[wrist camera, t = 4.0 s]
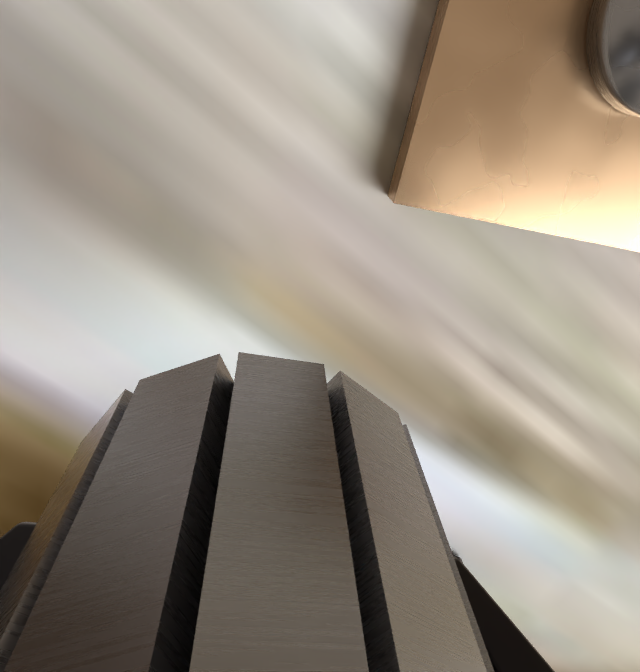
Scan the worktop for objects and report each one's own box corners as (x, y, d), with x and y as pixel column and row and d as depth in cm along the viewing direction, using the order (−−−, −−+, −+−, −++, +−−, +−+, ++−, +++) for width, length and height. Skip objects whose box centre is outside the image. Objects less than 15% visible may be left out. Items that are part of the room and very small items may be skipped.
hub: (371, 611, 12) (426, 937, 7) (81, 594, 11) (-61, 962, 6) (465, 384, 9) (656, 705, 4) (73, 328, 8) (-213, 677, 3)
